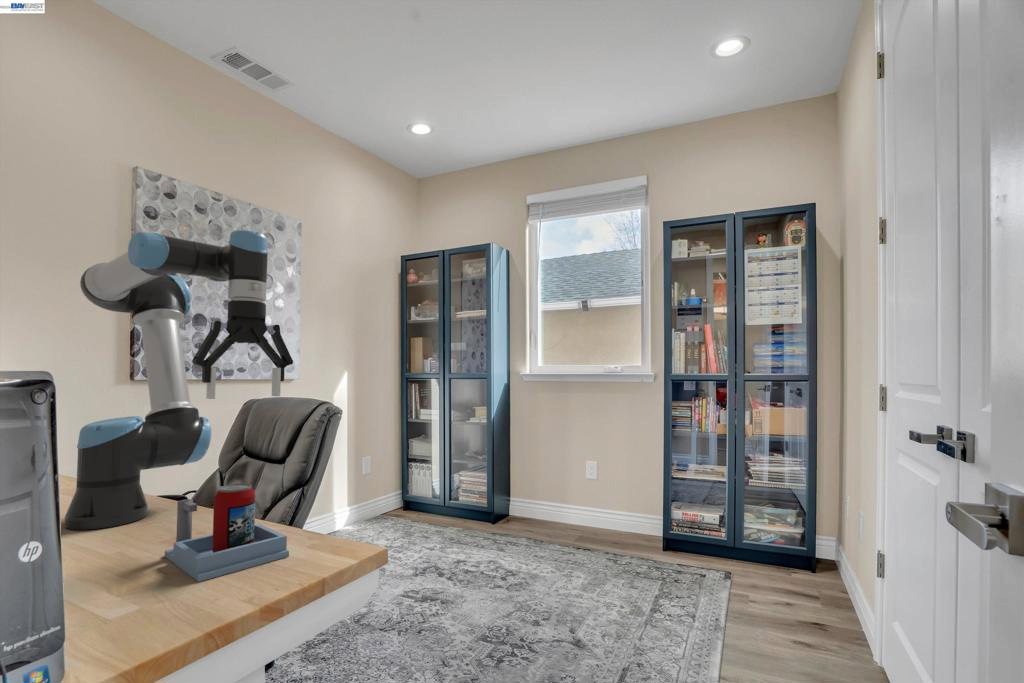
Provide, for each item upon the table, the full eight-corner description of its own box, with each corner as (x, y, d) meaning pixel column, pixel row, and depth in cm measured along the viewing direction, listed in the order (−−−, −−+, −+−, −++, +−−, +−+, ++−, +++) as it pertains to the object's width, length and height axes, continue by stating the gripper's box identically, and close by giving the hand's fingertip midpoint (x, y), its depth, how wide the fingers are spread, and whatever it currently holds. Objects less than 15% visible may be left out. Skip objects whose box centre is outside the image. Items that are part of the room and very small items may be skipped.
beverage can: (241, 559, 90) (242, 491, 91) (203, 559, 90) (205, 490, 91) (260, 546, 97) (262, 482, 98) (226, 546, 97) (228, 482, 98)
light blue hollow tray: (164, 556, 95) (166, 501, 95) (248, 536, 106) (249, 487, 107) (198, 581, 83) (200, 519, 84) (288, 556, 94) (290, 501, 95)
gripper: (189, 293, 101) (185, 400, 99) (309, 305, 120) (307, 395, 118) (177, 297, 106) (173, 399, 104) (294, 307, 124) (292, 394, 123)
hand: (244, 397), depth 111 cm, fingers open, 13 cm apart
